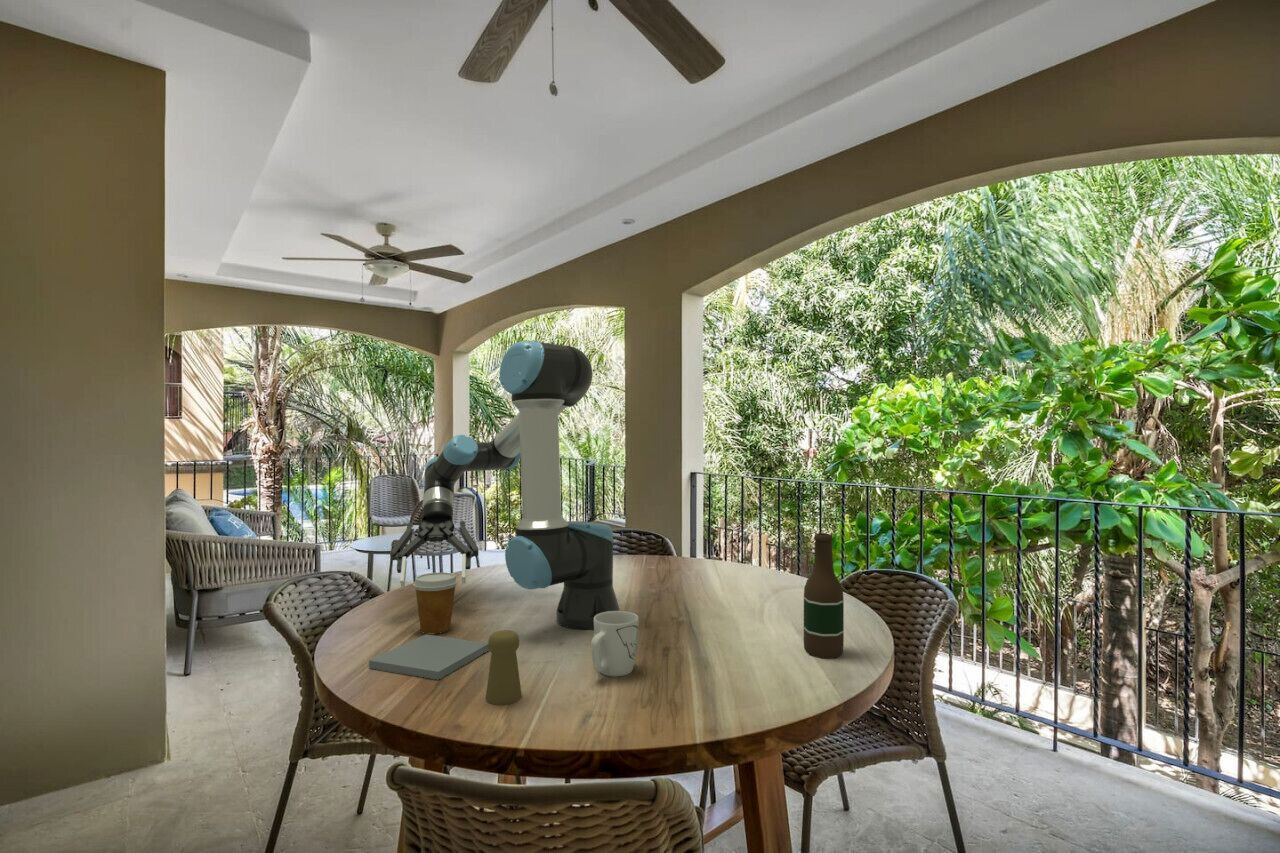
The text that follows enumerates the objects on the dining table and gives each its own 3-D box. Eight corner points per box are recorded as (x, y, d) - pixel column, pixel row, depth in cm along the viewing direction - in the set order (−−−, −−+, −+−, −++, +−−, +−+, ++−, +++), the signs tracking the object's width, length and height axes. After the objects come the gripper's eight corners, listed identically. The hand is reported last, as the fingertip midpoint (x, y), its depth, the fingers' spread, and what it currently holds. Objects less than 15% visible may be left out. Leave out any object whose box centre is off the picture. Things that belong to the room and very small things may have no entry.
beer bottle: (843, 648, 130) (844, 532, 130) (843, 661, 123) (843, 538, 123) (805, 643, 133) (805, 530, 133) (802, 656, 125) (802, 536, 125)
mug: (612, 688, 110) (612, 631, 110) (574, 678, 114) (574, 623, 114) (647, 667, 120) (646, 615, 120) (610, 659, 124) (610, 608, 124)
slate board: (489, 650, 129) (489, 643, 129) (438, 680, 114) (438, 671, 114) (425, 641, 134) (425, 634, 134) (369, 668, 119) (369, 660, 119)
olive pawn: (488, 690, 109) (488, 626, 109) (523, 689, 110) (523, 626, 110) (482, 705, 103) (482, 638, 103) (519, 704, 104) (520, 637, 104)
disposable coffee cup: (463, 624, 146) (463, 572, 146) (447, 637, 137) (447, 582, 137) (424, 622, 147) (424, 571, 147) (405, 636, 138) (405, 581, 138)
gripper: (487, 516, 167) (488, 587, 152) (387, 519, 161) (377, 593, 146) (488, 498, 162) (488, 570, 147) (384, 501, 156) (374, 576, 141)
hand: (433, 582), depth 147 cm, fingers open, 13 cm apart
